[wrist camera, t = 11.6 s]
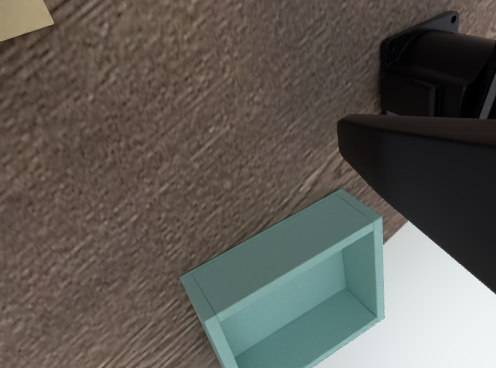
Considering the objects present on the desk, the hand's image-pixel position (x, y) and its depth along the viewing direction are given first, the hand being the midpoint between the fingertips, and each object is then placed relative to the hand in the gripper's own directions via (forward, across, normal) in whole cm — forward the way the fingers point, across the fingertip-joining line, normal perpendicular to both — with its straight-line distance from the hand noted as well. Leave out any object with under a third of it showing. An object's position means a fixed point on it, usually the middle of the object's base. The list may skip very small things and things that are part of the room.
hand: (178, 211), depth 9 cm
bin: (+13, -7, +20) cm, 25 cm away
